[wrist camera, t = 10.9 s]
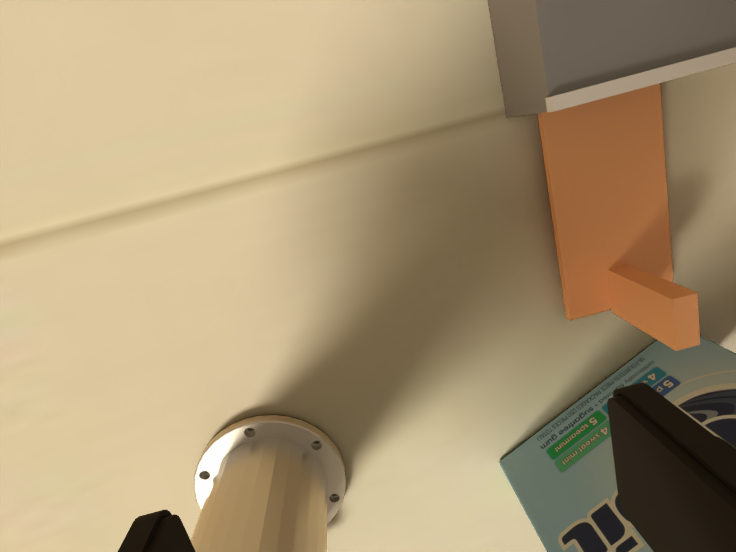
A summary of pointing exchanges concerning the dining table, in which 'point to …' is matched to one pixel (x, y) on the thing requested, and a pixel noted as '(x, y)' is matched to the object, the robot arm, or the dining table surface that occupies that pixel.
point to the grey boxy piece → (603, 47)
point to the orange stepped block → (616, 215)
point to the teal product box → (595, 454)
